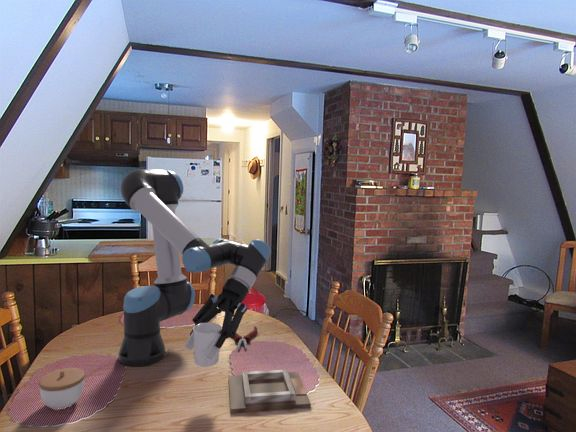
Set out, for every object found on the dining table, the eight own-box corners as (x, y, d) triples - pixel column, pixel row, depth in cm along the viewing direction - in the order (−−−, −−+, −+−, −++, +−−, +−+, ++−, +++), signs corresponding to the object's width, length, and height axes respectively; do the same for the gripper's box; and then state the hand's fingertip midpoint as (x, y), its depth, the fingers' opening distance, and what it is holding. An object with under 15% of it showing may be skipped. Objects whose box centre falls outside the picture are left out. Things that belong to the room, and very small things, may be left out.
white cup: (225, 358, 118) (226, 325, 116) (211, 370, 110) (212, 335, 109) (201, 352, 120) (202, 320, 119) (186, 364, 113) (187, 330, 111)
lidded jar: (80, 412, 106) (79, 378, 105) (34, 418, 103) (33, 383, 102) (88, 391, 116) (87, 360, 115) (46, 395, 113) (45, 364, 112)
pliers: (225, 353, 145) (226, 346, 144) (229, 331, 164) (229, 325, 164) (257, 352, 146) (258, 346, 145) (257, 331, 165) (257, 325, 165)
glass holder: (230, 413, 108) (230, 402, 107) (228, 379, 125) (228, 369, 125) (310, 407, 112) (311, 396, 111) (297, 375, 129) (298, 365, 129)
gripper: (270, 298, 120) (231, 370, 108) (220, 284, 131) (180, 347, 120) (260, 284, 115) (217, 358, 104) (209, 271, 126) (166, 336, 115)
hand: (197, 352), depth 112 cm, fingers closed on white cup, 8 cm apart
